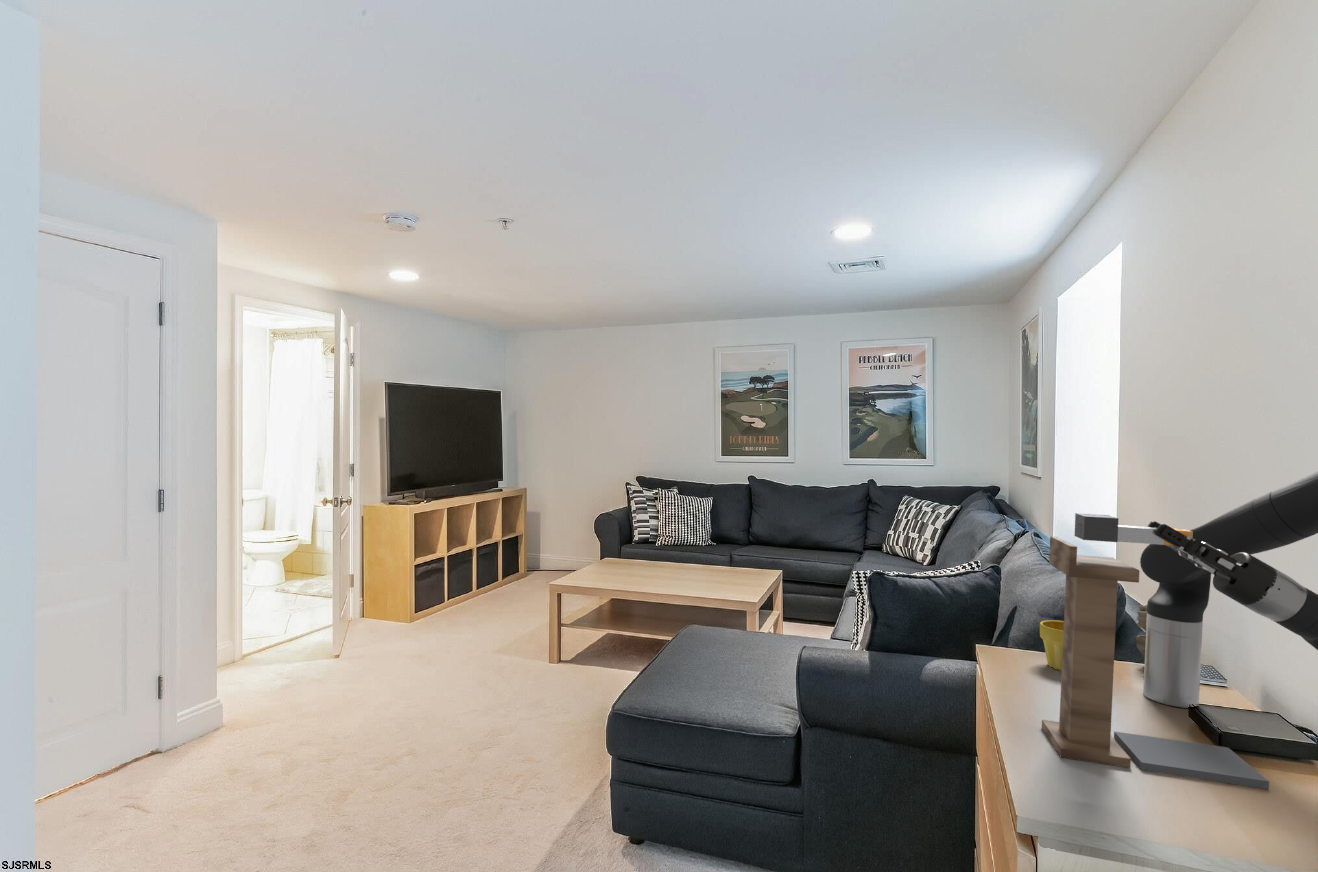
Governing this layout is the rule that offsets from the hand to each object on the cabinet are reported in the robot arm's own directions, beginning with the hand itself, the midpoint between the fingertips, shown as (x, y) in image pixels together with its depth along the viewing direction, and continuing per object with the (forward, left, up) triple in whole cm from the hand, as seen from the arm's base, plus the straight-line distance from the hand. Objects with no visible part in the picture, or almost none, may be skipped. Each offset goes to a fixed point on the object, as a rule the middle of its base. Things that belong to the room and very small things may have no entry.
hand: (1154, 527), depth 114 cm
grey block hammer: (0, -3, -3) cm, 4 cm away
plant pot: (-46, 0, -39) cm, 60 cm away
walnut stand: (0, -9, -39) cm, 40 cm away
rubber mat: (0, +6, -39) cm, 39 cm away
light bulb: (-54, +20, -39) cm, 69 cm away
